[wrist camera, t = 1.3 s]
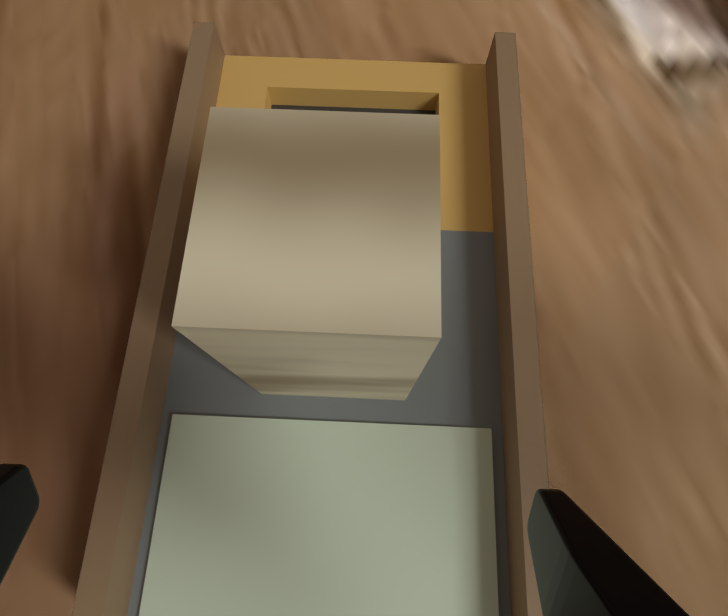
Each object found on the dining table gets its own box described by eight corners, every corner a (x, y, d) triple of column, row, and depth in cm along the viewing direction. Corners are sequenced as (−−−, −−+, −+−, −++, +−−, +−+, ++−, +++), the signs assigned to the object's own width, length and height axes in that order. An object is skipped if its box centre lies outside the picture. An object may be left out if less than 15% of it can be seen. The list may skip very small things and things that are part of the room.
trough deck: (527, 647, 19) (563, 685, 15) (115, 626, 19) (62, 659, 16) (496, 86, 27) (515, 33, 24) (214, 76, 27) (194, 22, 24)
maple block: (405, 400, 20) (441, 337, 11) (261, 394, 20) (171, 325, 11) (407, 267, 22) (439, 115, 13) (276, 262, 22) (210, 106, 13)
